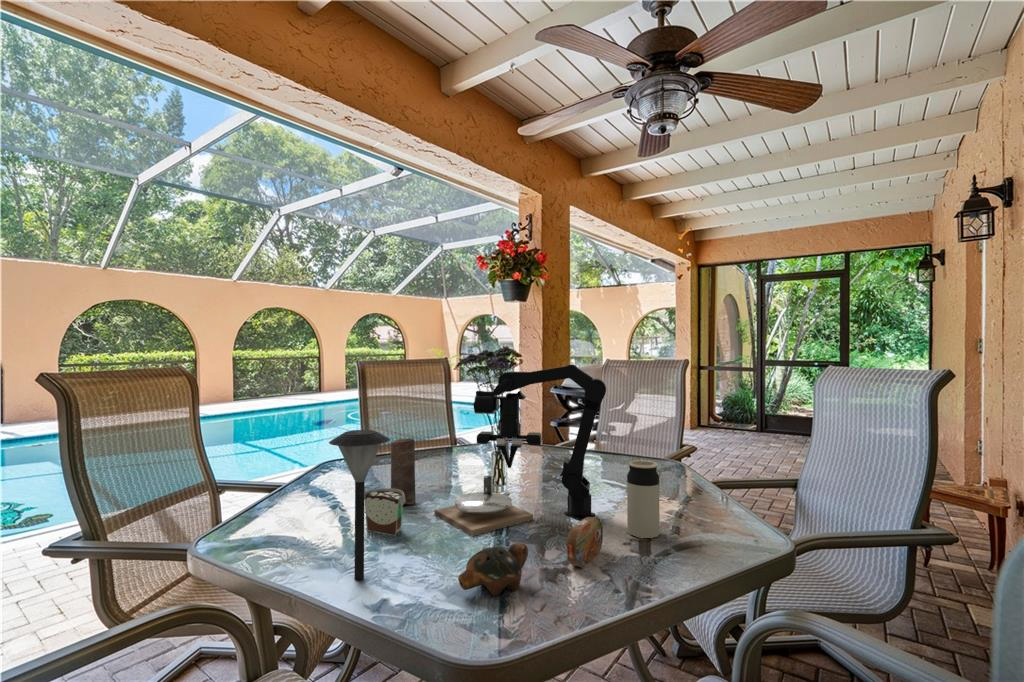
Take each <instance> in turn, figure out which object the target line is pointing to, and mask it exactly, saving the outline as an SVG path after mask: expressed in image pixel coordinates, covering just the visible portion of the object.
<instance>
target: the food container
mask: <svg viewBox="0 0 1024 682" xmlns="http://www.w3.org/2000/svg"><path fill="white" fill-rule="evenodd" d="M405 502H406V499H405V495H404V493H403V491H401V490H398V489H391V487H390V488H384V487H383V488H374V489H368V490H366V491H365V490H364V511H365V522H366V531H367V530H369V531H368V532H370V531H374V532H373V533H376V532H379V533H378V534H381V533H384V534H383V535H386V534H388V535H387V536H391V535H394V536H393V537H397V536H399V535H400V534H401V527H402V517H403V509H404V505H405V504H404V503H405ZM399 533H400V534H399ZM398 534H399V535H398Z"/></svg>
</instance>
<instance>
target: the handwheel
mask: <svg viewBox="0 0 1024 682" xmlns="http://www.w3.org/2000/svg"><path fill="white" fill-rule="evenodd" d="M492 485H493V477H492V476H491V475H483V491H478V492H477V491H476V492H470V493H466V494H462V495H459V496H457V498H455V500H454V505H455V508H456V509H458V510H460V511H463V512H467V513H473V514H489V513H497V512H501V511H504V510H507V509H509V508H510V507H511V505H512V504H513V503H512V498H511V497H510V496H509V495H508V494H505V493H504V494H503V493H501V492H500V493H498V492H493V491H492V489H493V486H492ZM512 506H513V505H512Z"/></svg>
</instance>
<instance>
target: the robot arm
mask: <svg viewBox="0 0 1024 682" xmlns="http://www.w3.org/2000/svg"><path fill="white" fill-rule="evenodd" d="M565 379H569V380H571V381H573V382H574V383H575V384H576V385H578V386H579V387H580V388H581V389H583V390H584V391H585V392H584V404H583V412H582V417H581V419H580V423H579V426H578V431H577V434H576V438H575V442H574V446H573V449H572V454H571V455H570V458H567V457H564V460H563V464H562V469H561V472H560V474H559V476H560V477H561V483H562V485H563V487H564V488H565V489H566V490H568V491H567V511H564V513H563V515H566V516H568V517H570V518H573V519H576V520H580V521H582V520H583V519H584V518H586V517H596V513H594V512H592V494H590V491H591V482H590V481H589V480H588V479H587V478H586V477H585V476H584V464H585V456H586V453H587V448H588V445H589V441H590V437H591V434H592V431H593V426H594V422H595V419H596V414H597V412H598V410H599V408H600V406H601V404H602V402H603V400H604V398H605V395H606V393H607V386H606V383H605V382H604V381H603V380H602V379H601V378H598V377H597V378H593V377H592V376H591V375H589V374H587V372H585V371H583V370H582V369H580V368H579V367H578V366H577V365H575V364H571V363H570V364H567V365H565V366H557V367H552V368H547V369H545V368H544V369H540V370H534V371H513V370H512V371H505V372H503V373H501V374H500V375H499V377H498V380H497V385H496V386H495V388H494V389H493V390H492V391H488V390H487V391H485V390H477V391H475V396H474V402H473V412H474V414H481V415H483V414H484V415H486V414H487V415H495V413H496V411H499V419H498V423H497V430H498V431H499V434H494V432H493V431H485V430H484V431H483V430H482V431H480V432H479V433H478V434H477V435H476V444H479V445H488V444H489V443H490V442H496V444H495V447H496V448H499V449H500V452H501V453H502V457H503V458H504V461H505V463H506V466H507V468H508V469H511V468H512V465H513V462H514V459H515V456H516V453H517V451H518V449H519V448H522V446H523V444H524V443H523V442H525V443H527V444H528V445H529V446H541V445H542V443H543V434H542V433H541V432H534V431H533V432H530V431H529V432H527V434H521V431H522V428H521V427H522V424H521V422H520V400H525V399H526V398H527V396H526V395H525V394H524V393H523V392H522V390H519V389H521V388H524V387H527V386H530V385H534V384H540V383H547V382H554V381H560V380H565ZM516 390H519V391H517V392H516V393H514V392H513V391H516ZM512 392H513V393H512ZM505 393H507V394H506V396H505V395H503V396H501V395H502V394H505ZM509 442H511V443H512V444H511V445H510V443H509ZM509 445H510V450H509Z"/></svg>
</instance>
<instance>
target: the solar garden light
mask: <svg viewBox="0 0 1024 682" xmlns="http://www.w3.org/2000/svg"><path fill="white" fill-rule="evenodd" d="M390 441H391V438H390V437H387V436H385V435H384V434H382V433H381V432H378V431H377V430H373V429H356V430H355V429H353V430H346V431H344V432H343V433H341V434H340V435H337V436H336V437H334V438H333V439H331V440H330V441H329V442H328V444H329V445H332V446H337V447H338V448H339V451H340V452H341V455H342V457H343V458H344V461H345V464H346V465H347V468H348V469H349V471H350V472H349V473H350V474H351V476H352V478H353V481H354V578H353V579H354V581H355V580H356V581H355V582H361V581H363V580H364V579H365V499H364V492H365V489H366V488H365V485H366V484H365V480H366V479H367V476H368V473H369V472H370V469H371V468H372V465H373V463H374V461H375V458H376V456H377V454H378V451H379V449H380V448H381V445H382V444H385V443H387V442H390Z"/></svg>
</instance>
